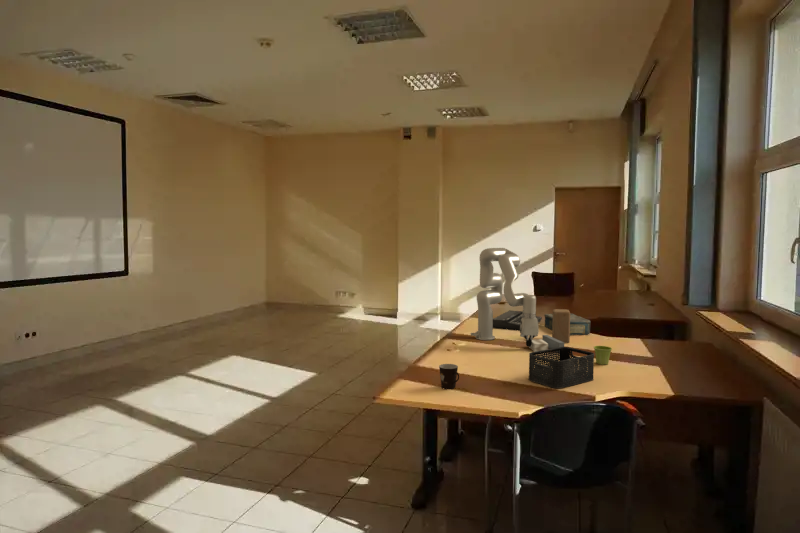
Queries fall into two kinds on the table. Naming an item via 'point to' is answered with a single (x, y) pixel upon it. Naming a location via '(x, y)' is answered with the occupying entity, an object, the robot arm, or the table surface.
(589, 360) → the storage bin
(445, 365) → the coffee mug
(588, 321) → the metal box
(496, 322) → the vintage computer
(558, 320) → the wooden block
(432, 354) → the table surface
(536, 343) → the off-white block
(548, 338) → the curved slate gray block
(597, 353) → the plant pot
